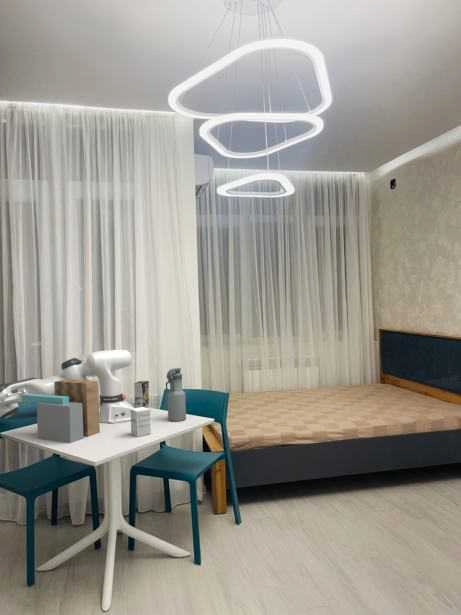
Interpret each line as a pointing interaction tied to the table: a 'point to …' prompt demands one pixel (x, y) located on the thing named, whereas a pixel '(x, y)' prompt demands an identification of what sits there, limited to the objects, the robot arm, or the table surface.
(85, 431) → the walnut stand
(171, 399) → the water bottle
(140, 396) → the coffee box
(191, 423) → the table surface
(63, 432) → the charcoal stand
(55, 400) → the teal batten
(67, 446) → the table surface
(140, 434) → the supplement box
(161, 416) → the table surface
